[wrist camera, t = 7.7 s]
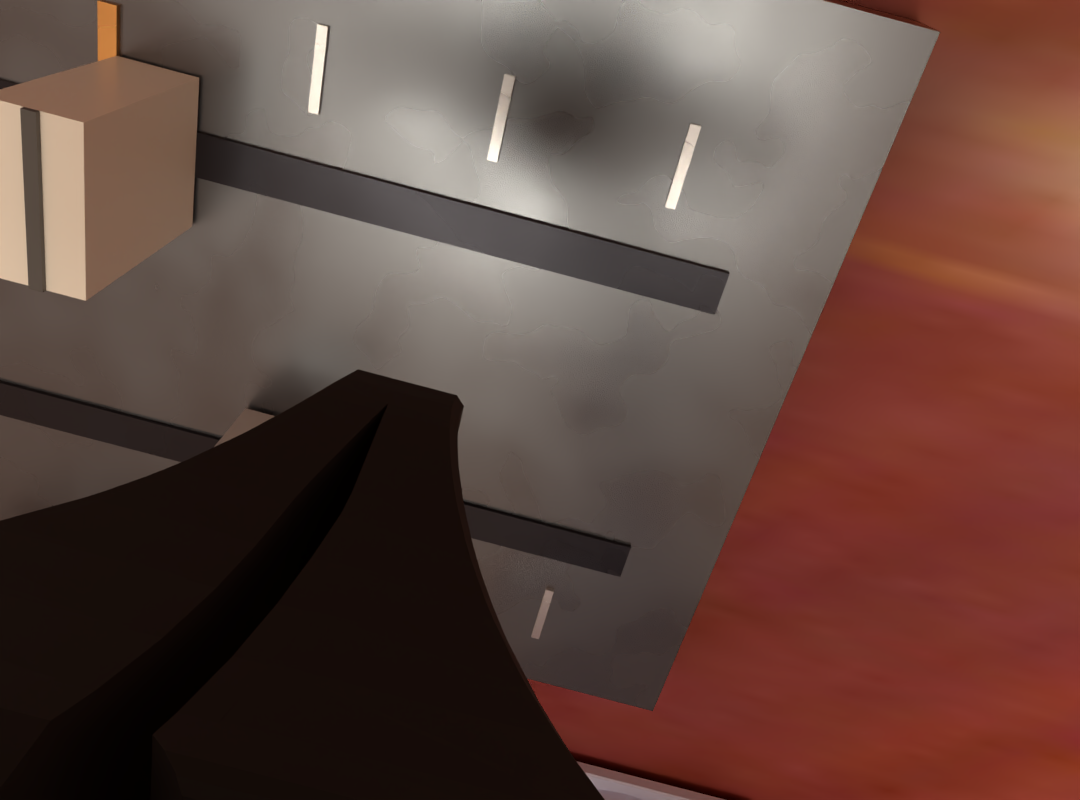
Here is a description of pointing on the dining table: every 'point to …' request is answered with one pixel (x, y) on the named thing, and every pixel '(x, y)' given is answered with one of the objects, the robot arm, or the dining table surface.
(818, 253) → the mixing console
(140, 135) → the fader cap ivory
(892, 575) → the dining table surface
